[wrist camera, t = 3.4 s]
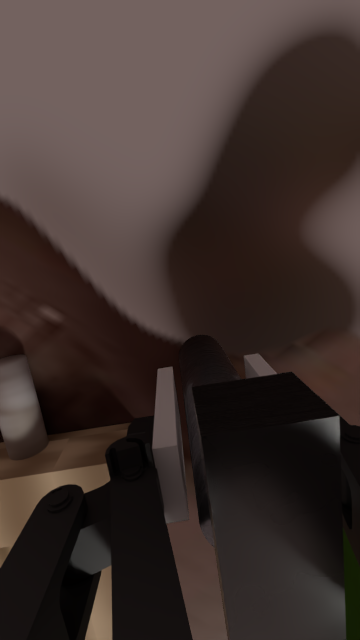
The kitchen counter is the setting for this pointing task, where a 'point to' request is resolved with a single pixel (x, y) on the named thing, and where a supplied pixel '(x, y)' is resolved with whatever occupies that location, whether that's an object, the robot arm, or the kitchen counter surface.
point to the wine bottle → (351, 591)
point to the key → (267, 496)
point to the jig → (47, 469)
